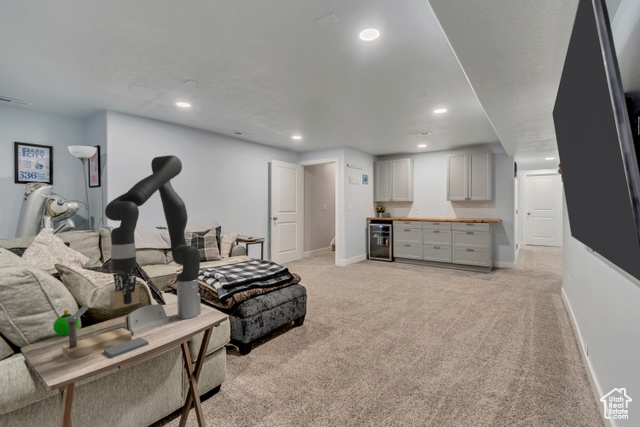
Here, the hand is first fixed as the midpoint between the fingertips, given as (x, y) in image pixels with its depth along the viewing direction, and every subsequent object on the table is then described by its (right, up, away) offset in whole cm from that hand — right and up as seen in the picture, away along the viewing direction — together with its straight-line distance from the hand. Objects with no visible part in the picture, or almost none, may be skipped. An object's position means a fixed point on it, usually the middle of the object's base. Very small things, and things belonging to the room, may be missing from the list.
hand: (125, 302), depth 108 cm
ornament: (-33, -17, +13) cm, 39 cm away
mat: (0, -17, 0) cm, 17 cm away
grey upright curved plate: (-4, -17, +20) cm, 26 cm away
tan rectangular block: (0, -1, 0) cm, 1 cm away
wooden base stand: (-11, -17, +2) cm, 20 cm away
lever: (-18, -5, +1) cm, 19 cm away
